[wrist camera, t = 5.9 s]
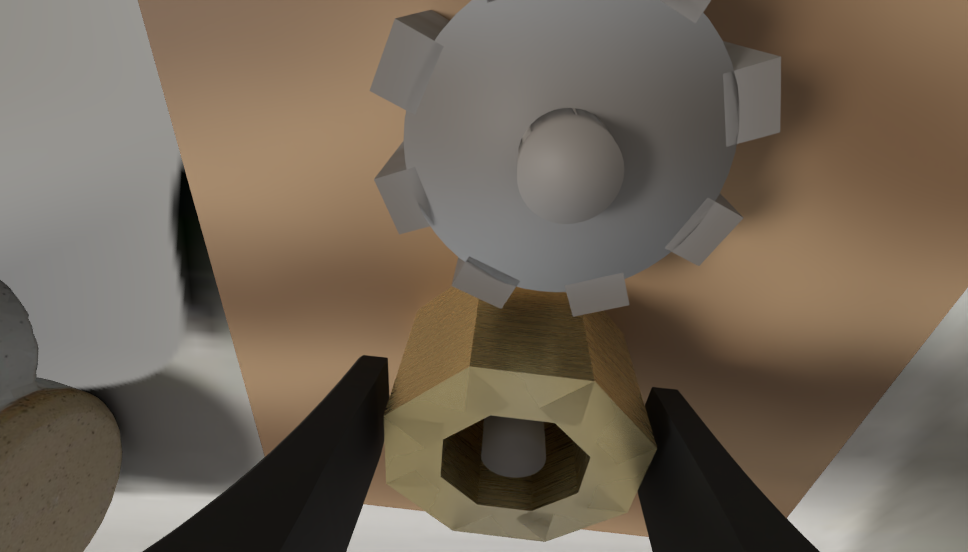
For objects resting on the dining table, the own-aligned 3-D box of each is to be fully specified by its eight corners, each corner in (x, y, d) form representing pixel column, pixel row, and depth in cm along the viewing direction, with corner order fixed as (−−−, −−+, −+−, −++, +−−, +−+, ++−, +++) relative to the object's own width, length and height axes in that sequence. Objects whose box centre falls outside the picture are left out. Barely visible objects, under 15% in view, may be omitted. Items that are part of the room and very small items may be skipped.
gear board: (748, 517, 18) (815, 674, 14) (288, 465, 18) (221, 604, 14) (1146, -50, 8) (1772, -86, 4) (144, -145, 8) (-210, -268, 4)
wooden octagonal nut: (591, 430, 14) (610, 549, 11) (415, 410, 14) (387, 522, 11) (640, 283, 11) (683, 391, 8) (418, 257, 11) (381, 356, 8)
